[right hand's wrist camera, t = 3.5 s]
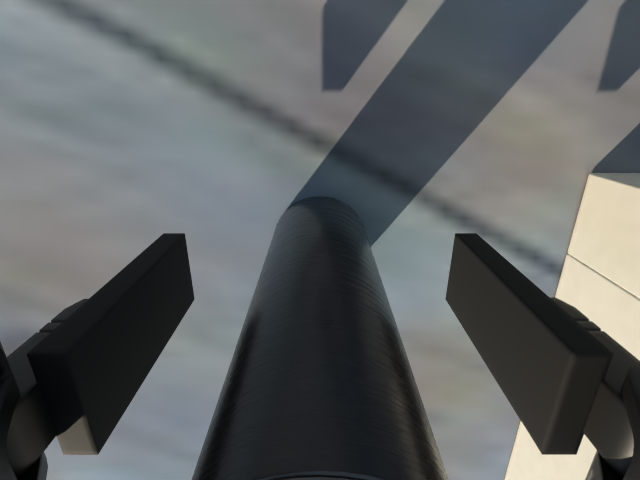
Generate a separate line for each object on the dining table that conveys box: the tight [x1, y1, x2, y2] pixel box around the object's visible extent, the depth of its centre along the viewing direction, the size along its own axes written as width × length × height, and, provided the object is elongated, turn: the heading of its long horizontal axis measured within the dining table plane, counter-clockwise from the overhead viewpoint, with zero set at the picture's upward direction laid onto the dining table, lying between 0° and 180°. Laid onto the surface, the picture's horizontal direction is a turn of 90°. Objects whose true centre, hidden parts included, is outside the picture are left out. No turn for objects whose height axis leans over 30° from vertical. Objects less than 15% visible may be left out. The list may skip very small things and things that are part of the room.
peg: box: [192, 197, 448, 480], centre depth 10 cm, size 4×4×12 cm
